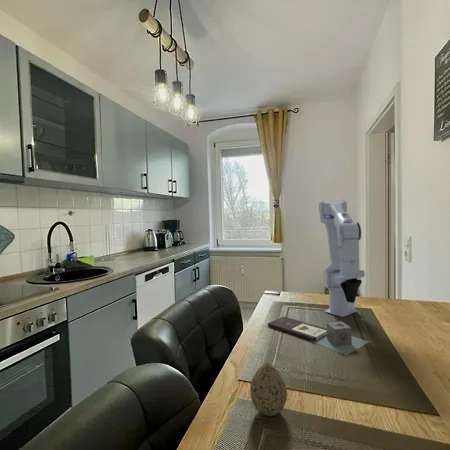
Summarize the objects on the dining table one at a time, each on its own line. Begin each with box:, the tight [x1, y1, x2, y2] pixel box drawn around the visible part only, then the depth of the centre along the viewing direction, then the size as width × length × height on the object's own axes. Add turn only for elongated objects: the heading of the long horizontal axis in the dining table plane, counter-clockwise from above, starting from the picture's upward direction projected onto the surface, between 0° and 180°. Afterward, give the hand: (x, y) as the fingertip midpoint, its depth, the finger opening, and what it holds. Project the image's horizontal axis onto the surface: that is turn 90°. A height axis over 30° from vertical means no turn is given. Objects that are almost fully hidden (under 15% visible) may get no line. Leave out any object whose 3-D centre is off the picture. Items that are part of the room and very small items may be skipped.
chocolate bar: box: [267, 316, 327, 342], centre depth 97 cm, size 9×1×18 cm
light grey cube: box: [326, 320, 352, 346], centre depth 87 cm, size 5×5×5 cm
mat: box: [309, 334, 370, 356], centre depth 87 cm, size 12×12×1 cm
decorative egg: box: [249, 362, 288, 417], centre depth 58 cm, size 7×7×10 cm
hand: (350, 301), depth 95 cm, fingers closed
